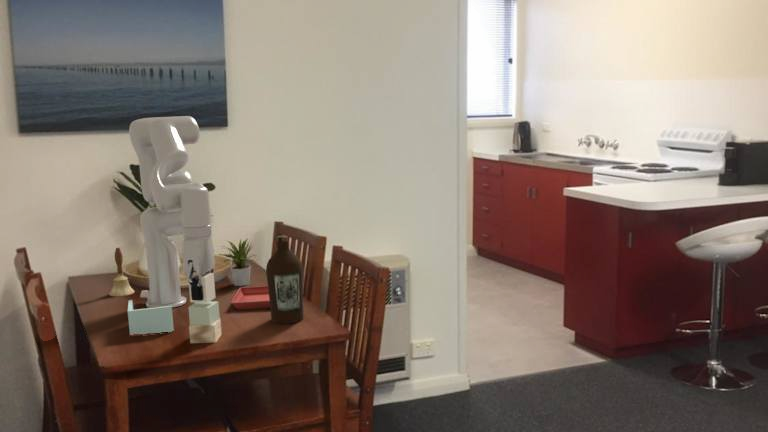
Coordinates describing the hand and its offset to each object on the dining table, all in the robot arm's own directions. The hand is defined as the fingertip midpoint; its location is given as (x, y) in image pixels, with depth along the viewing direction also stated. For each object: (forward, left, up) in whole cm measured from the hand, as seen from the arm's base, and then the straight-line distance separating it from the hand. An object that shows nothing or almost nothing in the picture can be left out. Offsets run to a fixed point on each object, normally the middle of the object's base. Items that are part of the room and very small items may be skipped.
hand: (202, 296), depth 220 cm
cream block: (0, 0, -1) cm, 1 cm away
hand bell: (-53, +40, -12) cm, 67 cm away
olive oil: (+16, +20, -12) cm, 28 cm away
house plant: (-17, +58, -12) cm, 62 cm away
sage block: (0, 0, -7) cm, 7 cm away
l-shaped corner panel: (-21, +6, -12) cm, 25 cm away
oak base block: (0, 0, -12) cm, 12 cm away
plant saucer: (+1, +37, -13) cm, 39 cm away
